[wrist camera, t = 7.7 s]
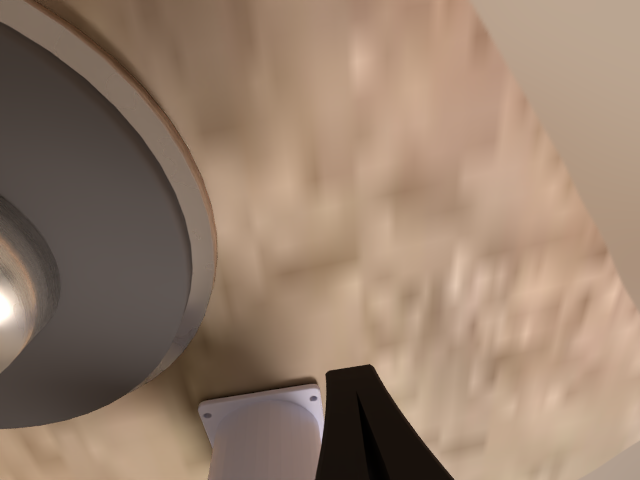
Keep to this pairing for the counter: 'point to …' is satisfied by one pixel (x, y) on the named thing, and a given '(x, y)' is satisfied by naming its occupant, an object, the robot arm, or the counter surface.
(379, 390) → the robot arm
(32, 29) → the base
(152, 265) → the turntable
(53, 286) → the cover
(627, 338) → the counter surface
